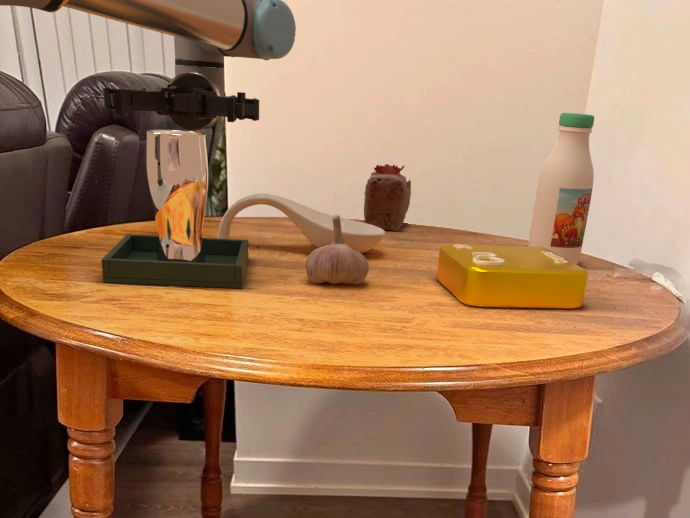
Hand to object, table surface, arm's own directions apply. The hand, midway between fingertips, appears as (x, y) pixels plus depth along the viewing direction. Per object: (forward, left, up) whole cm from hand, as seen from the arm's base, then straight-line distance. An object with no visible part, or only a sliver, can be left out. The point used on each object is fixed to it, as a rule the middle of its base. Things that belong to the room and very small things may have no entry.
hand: (174, 106), depth 96 cm
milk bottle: (+53, +6, -18) cm, 57 cm away
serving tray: (+1, -10, -18) cm, 20 cm away
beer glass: (+1, -10, -17) cm, 20 cm away
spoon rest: (+16, +6, -18) cm, 25 cm away
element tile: (+41, -14, -18) cm, 47 cm away
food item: (+31, +32, -18) cm, 49 cm away
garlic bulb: (+20, -13, -18) cm, 30 cm away
